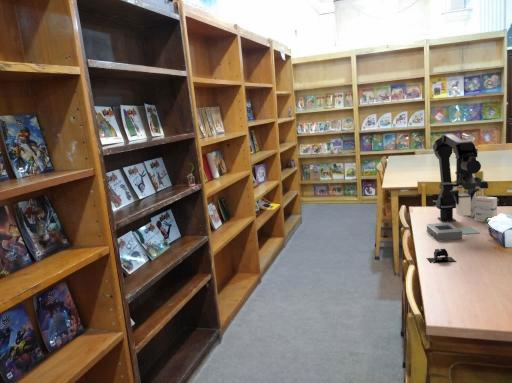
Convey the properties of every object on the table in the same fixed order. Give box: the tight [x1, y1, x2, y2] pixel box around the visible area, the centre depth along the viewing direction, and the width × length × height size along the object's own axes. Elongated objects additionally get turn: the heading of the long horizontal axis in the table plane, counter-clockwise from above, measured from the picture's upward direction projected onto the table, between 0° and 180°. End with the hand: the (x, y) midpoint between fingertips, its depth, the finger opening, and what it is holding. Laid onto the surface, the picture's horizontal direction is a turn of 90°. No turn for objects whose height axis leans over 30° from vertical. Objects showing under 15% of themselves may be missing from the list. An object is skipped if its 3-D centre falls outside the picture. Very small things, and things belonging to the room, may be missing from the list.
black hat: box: [425, 248, 457, 264], centre depth 152 cm, size 12×7×5 cm, turn 84°
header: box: [425, 222, 463, 242], centre depth 180 cm, size 14×10×4 cm
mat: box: [457, 227, 481, 236], centre depth 182 cm, size 8×8×1 cm
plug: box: [455, 193, 471, 217], centre depth 179 cm, size 4×4×9 cm
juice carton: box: [461, 170, 485, 218], centre depth 204 cm, size 9×8×24 cm
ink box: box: [474, 195, 498, 223], centre depth 193 cm, size 9×5×12 cm, turn 39°
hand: (463, 204), depth 179 cm, fingers closed on plug, 4 cm apart
